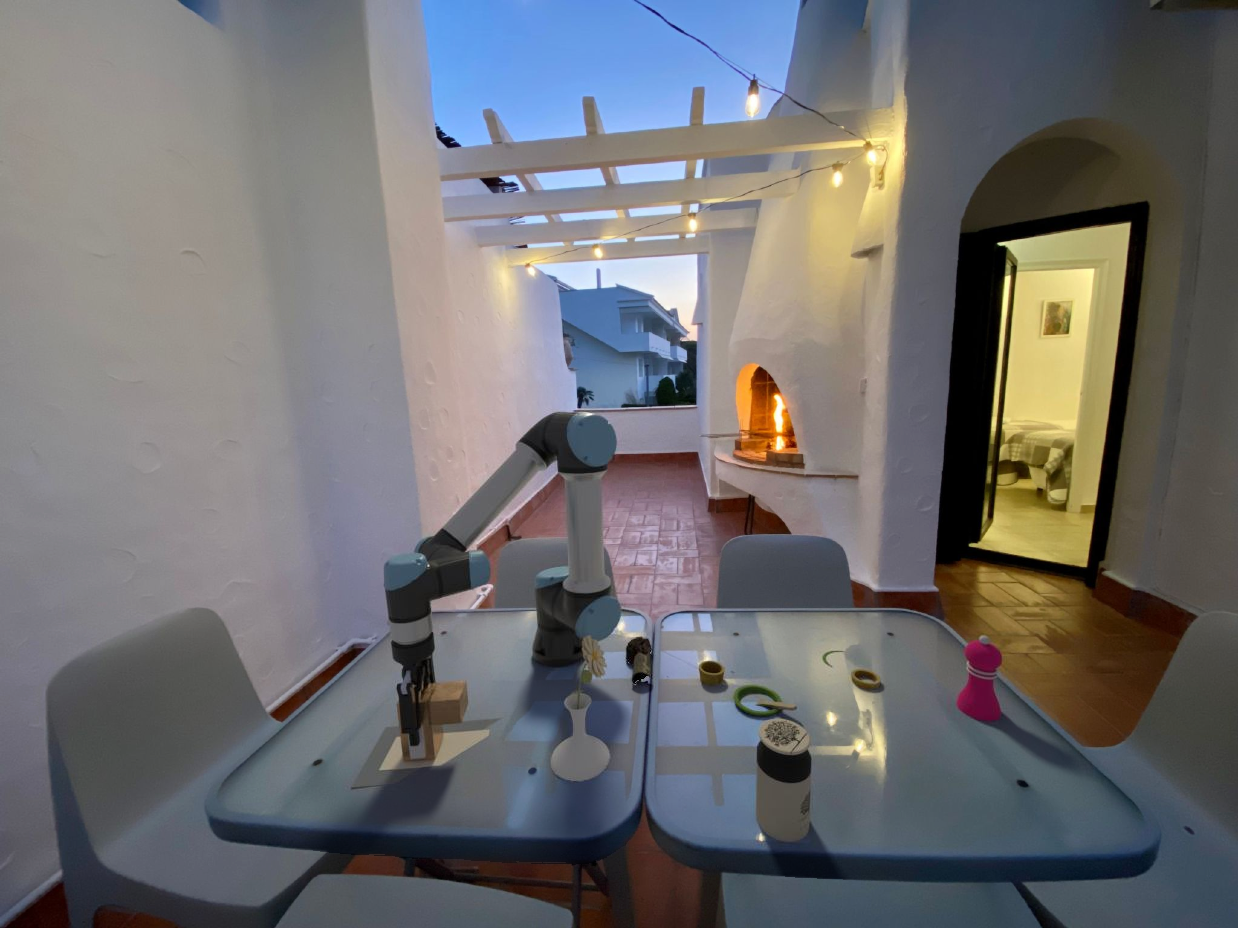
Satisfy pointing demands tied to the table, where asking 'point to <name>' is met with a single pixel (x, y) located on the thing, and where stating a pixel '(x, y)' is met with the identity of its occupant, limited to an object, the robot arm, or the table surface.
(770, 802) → the travel mug
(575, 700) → the flower in vase
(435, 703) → the wooden l-shaped block
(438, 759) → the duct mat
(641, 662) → the brown olive knobbed cylinder
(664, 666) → the table surface
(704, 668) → the tableware set
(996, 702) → the pepper mill
